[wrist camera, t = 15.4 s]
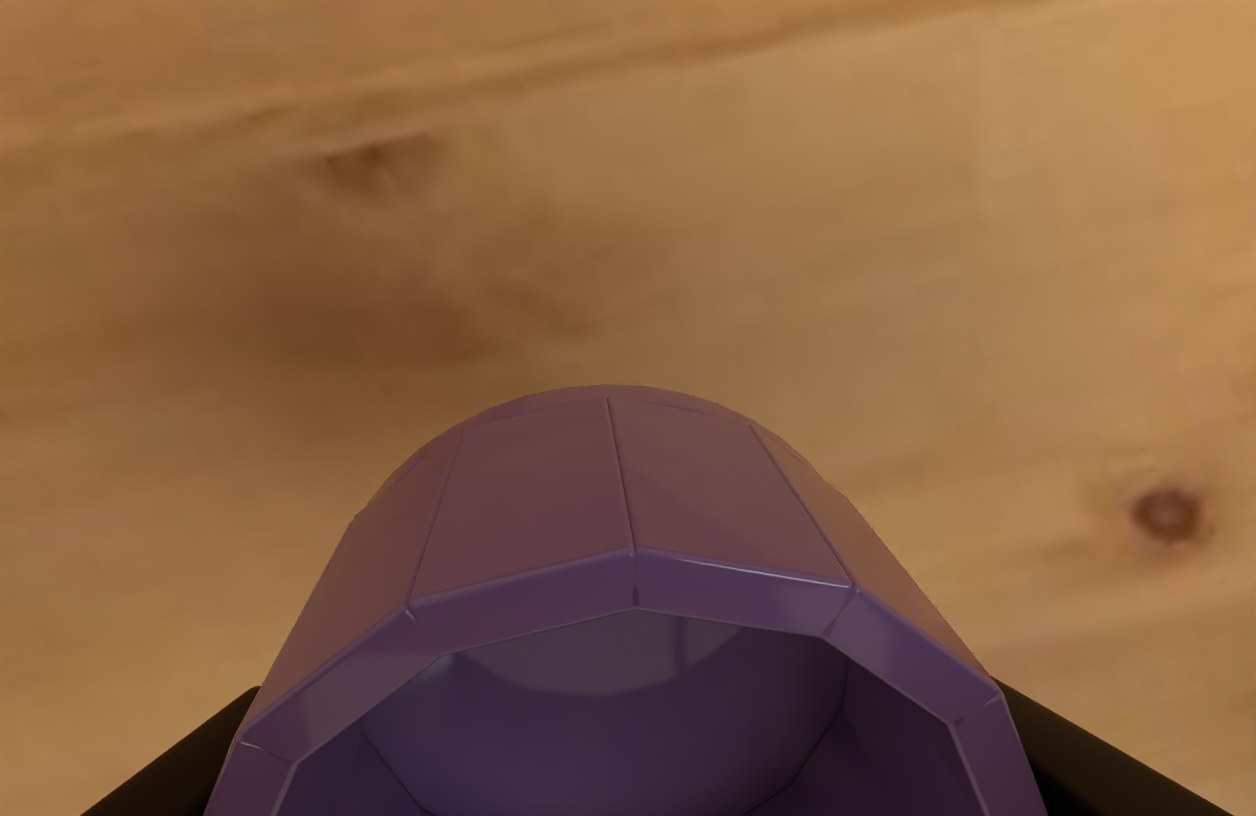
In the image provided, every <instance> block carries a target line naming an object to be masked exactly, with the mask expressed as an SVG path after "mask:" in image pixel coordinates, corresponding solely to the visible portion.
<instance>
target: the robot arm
mask: <svg viewBox="0 0 1256 816" xmlns="http://www.w3.org/2000/svg"><path fill="white" fill-rule="evenodd" d="M991 677H992V676H991ZM992 679H993V680H994V681H995V682H996V684H997V686H998V687H999V688H1000V689H1001V691H1002V692H1003V694H1004V696H1005V699H1006V702H1007V705H1008V707H1009V710H1010V713H1011V715H1012V718H1013V721H1014V723H1015V726H1016V729H1017V731H1018V734H1019V737H1020V739H1021V742H1022V745H1023V747H1024V750H1025V753H1026V755H1027V758H1028V761H1029V763H1030V766H1031V769H1032V771H1033V774H1034V777H1035V779H1036V782H1037V785H1038V787H1039V790H1040V793H1041V795H1042V798H1043V801H1044V803H1045V806H1046V809H1047V811H1048V814H1049V816H1233V815H1232V814H1230V813H1228V812H1226V811H1225V810H1223V809H1221V808H1220V807H1218V806H1216V805H1214V804H1213V803H1211V802H1209V801H1207V800H1206V799H1204V798H1202V797H1200V796H1199V795H1197V794H1195V793H1193V792H1192V791H1190V790H1188V789H1187V788H1185V787H1183V786H1181V785H1180V784H1178V783H1176V782H1174V781H1173V780H1171V779H1169V778H1167V777H1166V776H1164V775H1162V774H1160V773H1159V772H1157V771H1155V770H1153V769H1152V768H1150V767H1148V766H1147V765H1145V764H1143V763H1141V762H1140V761H1138V760H1136V759H1134V758H1133V757H1131V756H1129V755H1127V754H1126V753H1124V752H1122V751H1120V750H1119V749H1117V748H1115V747H1114V746H1112V745H1110V744H1108V743H1107V742H1105V741H1103V740H1101V739H1100V738H1098V737H1096V736H1094V735H1093V734H1091V733H1089V732H1087V731H1086V730H1084V729H1082V728H1081V727H1079V726H1077V725H1075V724H1074V723H1072V722H1070V721H1068V720H1067V719H1065V718H1063V717H1061V716H1060V715H1058V714H1056V713H1054V712H1053V711H1051V710H1049V709H1048V708H1046V707H1044V706H1042V705H1041V704H1039V703H1037V702H1035V701H1034V700H1032V699H1030V698H1028V697H1027V696H1025V695H1023V694H1021V693H1020V692H1018V691H1016V690H1015V689H1013V688H1011V687H1009V686H1008V685H1006V684H1004V683H1002V682H1001V681H999V680H997V679H995V678H994V677H992ZM260 688H261V686H256V687H253V688H251V689H249V690H248V691H246V692H245V693H243V694H242V695H241V696H239V697H238V698H237V699H235V700H234V701H233V702H231V703H230V704H229V705H227V706H226V707H225V708H223V709H222V710H221V711H219V712H218V713H217V714H215V715H214V716H213V717H211V718H210V719H209V720H207V721H206V722H205V723H203V724H202V725H201V726H199V727H198V728H197V729H195V730H194V731H193V732H191V733H190V734H189V735H187V736H186V737H185V738H183V739H182V740H181V741H179V742H178V743H177V744H175V745H174V746H173V747H171V748H170V749H169V750H167V751H166V752H165V753H163V754H162V755H160V756H159V757H158V758H156V759H155V760H154V761H152V762H151V763H150V764H148V765H147V766H146V767H144V768H143V769H142V770H140V771H139V772H138V773H136V774H135V775H134V776H132V777H131V778H130V779H128V780H127V781H126V782H124V783H123V784H122V785H120V786H119V787H118V788H116V789H115V790H114V791H112V792H111V793H110V794H108V795H107V796H106V797H104V798H103V799H102V800H100V801H99V802H98V803H96V804H95V805H94V806H92V807H91V808H90V809H88V810H87V811H86V812H84V813H83V814H82V815H80V816H202V815H203V812H204V810H205V807H206V805H207V802H208V800H209V798H210V795H211V793H212V790H213V788H214V785H215V783H216V780H217V778H218V775H219V773H220V770H221V768H222V765H223V763H224V760H225V758H226V755H227V753H228V750H229V748H230V746H231V743H232V741H233V738H234V736H235V734H236V732H237V730H238V728H239V726H240V725H241V723H242V721H243V719H244V717H245V715H246V713H247V712H248V710H249V708H250V706H251V704H252V702H253V701H254V699H255V697H256V695H257V693H258V691H259V689H260Z"/></svg>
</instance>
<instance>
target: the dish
mask: <svg viewBox="0 0 1256 816" xmlns="http://www.w3.org/2000/svg"><path fill="white" fill-rule="evenodd" d="M202 816H1049V814H1048V811H1047V809H1046V806H1045V803H1044V801H1043V798H1042V795H1041V793H1040V790H1039V787H1038V785H1037V782H1036V779H1035V777H1034V774H1033V771H1032V769H1031V766H1030V763H1029V761H1028V758H1027V755H1026V753H1025V750H1024V747H1023V745H1022V742H1021V739H1020V737H1019V734H1018V731H1017V729H1016V726H1015V723H1014V721H1013V718H1012V715H1011V713H1010V710H1009V707H1008V705H1007V702H1006V699H1005V696H1004V694H1003V692H1002V691H1001V689H1000V688H999V687H998V686H997V684H996V682H995V681H994V680H993V679H992V677H991V676H990V675H989V674H988V672H987V671H986V670H985V669H984V668H983V666H982V665H981V664H980V663H979V661H978V660H977V659H976V658H975V656H974V655H973V654H972V653H971V651H970V650H969V649H968V648H967V646H966V645H965V644H964V643H963V641H962V640H961V639H960V638H959V636H958V635H957V634H956V633H955V631H954V630H953V629H952V628H951V626H950V625H949V624H948V623H947V621H946V620H945V619H944V618H943V616H942V615H941V614H940V613H939V611H938V610H937V609H936V608H935V606H934V605H933V604H932V603H931V601H930V600H929V599H928V598H927V596H926V595H925V594H924V593H923V592H922V590H921V589H920V588H919V587H918V585H917V584H916V583H915V582H914V580H913V579H912V578H911V577H910V575H909V574H908V573H907V572H906V570H905V569H904V568H903V567H902V565H901V564H900V563H899V562H898V560H897V559H896V558H895V557H894V555H893V554H892V553H891V552H890V550H889V549H888V548H887V547H886V545H885V544H884V543H883V542H882V540H881V539H880V538H879V537H878V535H877V534H876V533H875V532H874V530H873V529H872V528H871V527H870V525H869V524H868V523H867V522H866V520H865V519H864V518H863V517H862V515H861V514H860V513H859V512H858V511H857V509H856V508H855V507H854V506H853V504H852V503H851V502H850V501H849V499H848V498H847V497H845V496H844V495H843V494H842V493H840V492H839V491H838V490H836V489H835V488H834V487H832V486H831V485H830V484H829V483H827V482H826V481H825V480H824V479H823V478H822V477H821V476H820V474H819V473H818V472H817V471H816V470H815V469H814V468H813V466H812V465H811V464H810V463H809V462H808V461H807V460H806V459H805V458H804V457H803V456H802V455H800V454H799V453H798V452H797V451H796V450H795V449H793V448H792V447H791V446H790V445H789V444H788V443H786V442H785V441H784V440H783V439H782V438H780V437H779V436H777V435H776V434H774V433H773V432H771V431H769V430H768V429H766V428H765V427H763V426H762V425H760V424H758V423H757V422H755V421H754V420H752V419H750V418H748V417H746V416H744V415H742V414H739V413H737V412H735V411H733V410H731V409H729V408H726V407H724V406H722V405H720V404H718V403H714V402H711V401H708V400H704V399H701V398H698V397H695V396H691V395H688V394H685V393H682V392H676V391H670V390H664V389H658V388H652V387H646V386H630V385H605V384H603V385H591V386H579V387H568V388H561V389H556V390H551V391H547V392H542V393H537V394H532V395H528V396H524V397H521V398H518V399H515V400H512V401H509V402H506V403H504V404H501V405H498V406H495V407H492V408H489V409H487V410H485V411H483V412H481V413H479V414H477V415H475V416H473V417H471V418H469V419H467V420H465V421H463V422H460V423H458V424H456V425H454V426H452V427H451V428H449V429H448V430H446V431H445V432H443V433H442V434H441V435H439V436H438V437H436V438H435V439H433V440H432V441H430V442H429V443H427V444H426V445H424V446H423V447H421V448H420V449H419V450H418V451H417V452H415V453H414V454H413V455H412V456H411V457H410V458H409V459H408V460H406V461H405V462H404V463H403V464H402V465H401V466H400V467H399V468H397V469H396V470H395V471H394V472H393V473H392V474H391V475H390V476H389V478H388V479H387V480H386V481H385V482H384V484H383V485H382V486H381V487H380V488H379V489H378V491H377V492H376V493H375V494H374V495H373V497H372V498H371V499H370V500H369V502H368V503H367V505H366V506H365V508H364V509H362V510H361V511H360V512H359V513H358V514H356V515H355V517H354V519H353V520H352V521H351V522H350V523H349V525H348V527H347V529H346V530H345V532H344V534H343V536H342V538H341V540H340V542H339V543H338V545H337V547H336V549H335V551H334V553H333V554H332V556H331V558H330V560H329V562H328V564H327V566H326V567H325V569H324V571H323V573H322V575H321V577H320V579H319V580H318V582H317V584H316V586H315V588H314V590H313V591H312V593H311V595H310V597H309V599H308V601H307V603H306V604H305V606H304V608H303V610H302V612H301V614H300V615H299V617H298V619H297V621H296V623H295V625H294V627H293V628H292V630H291V632H290V634H289V636H288V638H287V640H286V641H285V643H284V645H283V647H282V649H281V651H280V652H279V654H278V656H277V658H276V660H275V662H274V664H273V665H272V667H271V669H270V671H269V673H268V675H267V676H266V678H265V680H264V682H263V684H262V686H261V688H260V689H259V691H258V693H257V695H256V697H255V699H254V701H253V702H252V704H251V706H250V708H249V710H248V712H247V713H246V715H245V717H244V719H243V721H242V723H241V725H240V726H239V728H238V730H237V732H236V734H235V736H234V738H233V741H232V743H231V746H230V748H229V750H228V753H227V755H226V758H225V760H224V763H223V765H222V768H221V770H220V773H219V775H218V778H217V780H216V783H215V785H214V788H213V790H212V793H211V795H210V798H209V800H208V802H207V805H206V807H205V810H204V812H203V815H202Z"/></svg>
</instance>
